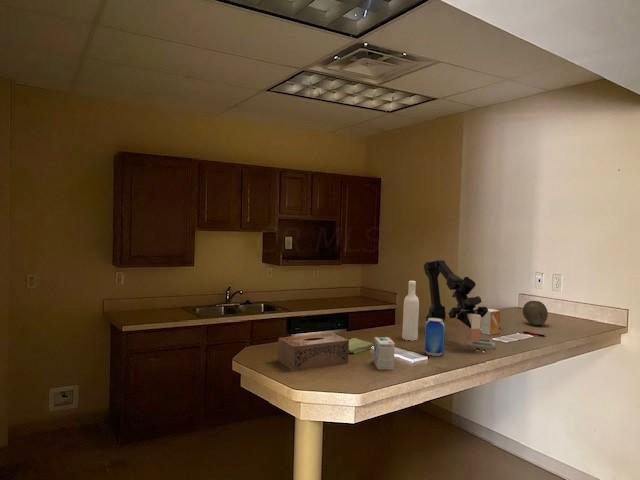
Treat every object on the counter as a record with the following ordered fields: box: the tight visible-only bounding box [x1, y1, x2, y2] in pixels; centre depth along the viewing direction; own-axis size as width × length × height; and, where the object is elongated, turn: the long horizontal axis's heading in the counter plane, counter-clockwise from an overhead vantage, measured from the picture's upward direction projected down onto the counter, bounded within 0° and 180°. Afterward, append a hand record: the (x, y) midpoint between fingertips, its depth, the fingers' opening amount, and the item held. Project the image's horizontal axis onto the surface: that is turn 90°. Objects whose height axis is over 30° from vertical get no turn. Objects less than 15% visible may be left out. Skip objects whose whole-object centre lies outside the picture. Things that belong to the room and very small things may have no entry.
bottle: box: [401, 280, 420, 342], centre depth 237 cm, size 8×8×30 cm
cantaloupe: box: [522, 300, 549, 327], centre depth 282 cm, size 14×14×15 cm
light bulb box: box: [372, 336, 396, 371], centre depth 192 cm, size 11×7×11 cm, turn 5°
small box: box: [480, 308, 501, 336], centre depth 257 cm, size 8×6×13 cm
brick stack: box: [465, 313, 481, 342], centre depth 218 cm, size 4×4×12 cm
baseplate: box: [468, 337, 496, 350], centre depth 231 cm, size 12×12×2 cm
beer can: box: [424, 318, 446, 357], centre depth 212 cm, size 8×8×16 cm
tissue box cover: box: [277, 332, 350, 372], centre depth 194 cm, size 26×14×10 cm, turn 120°
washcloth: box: [348, 337, 374, 355], centre depth 217 cm, size 13×18×3 cm
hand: (475, 327), depth 216 cm, fingers closed on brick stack, 4 cm apart
